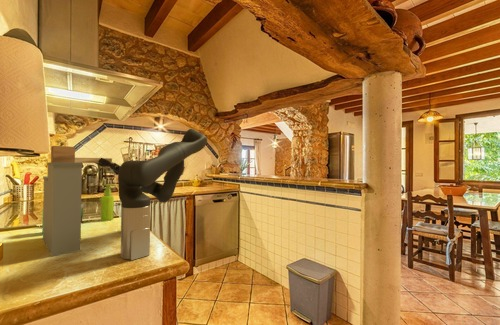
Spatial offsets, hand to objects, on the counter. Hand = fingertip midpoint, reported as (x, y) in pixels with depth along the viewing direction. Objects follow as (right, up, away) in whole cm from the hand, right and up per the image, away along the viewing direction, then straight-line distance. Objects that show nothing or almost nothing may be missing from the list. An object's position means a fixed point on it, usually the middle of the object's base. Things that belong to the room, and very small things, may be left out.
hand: (96, 159), depth 93 cm
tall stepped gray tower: (-12, -33, -4) cm, 36 cm away
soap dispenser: (-17, -33, +34) cm, 51 cm away
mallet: (-3, -1, -3) cm, 5 cm away
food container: (-29, -33, +27) cm, 52 cm away
